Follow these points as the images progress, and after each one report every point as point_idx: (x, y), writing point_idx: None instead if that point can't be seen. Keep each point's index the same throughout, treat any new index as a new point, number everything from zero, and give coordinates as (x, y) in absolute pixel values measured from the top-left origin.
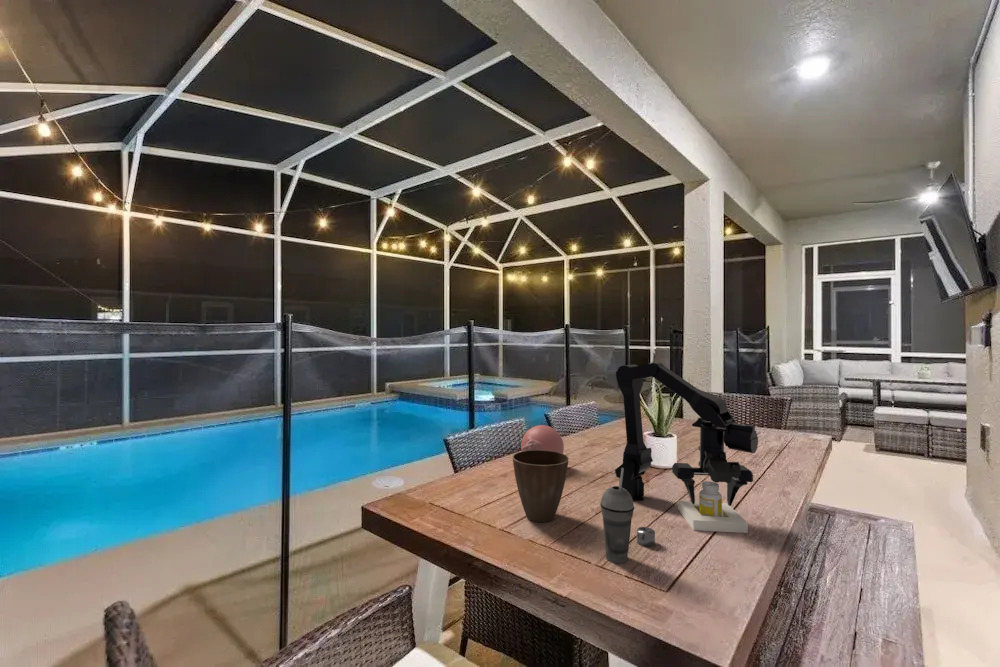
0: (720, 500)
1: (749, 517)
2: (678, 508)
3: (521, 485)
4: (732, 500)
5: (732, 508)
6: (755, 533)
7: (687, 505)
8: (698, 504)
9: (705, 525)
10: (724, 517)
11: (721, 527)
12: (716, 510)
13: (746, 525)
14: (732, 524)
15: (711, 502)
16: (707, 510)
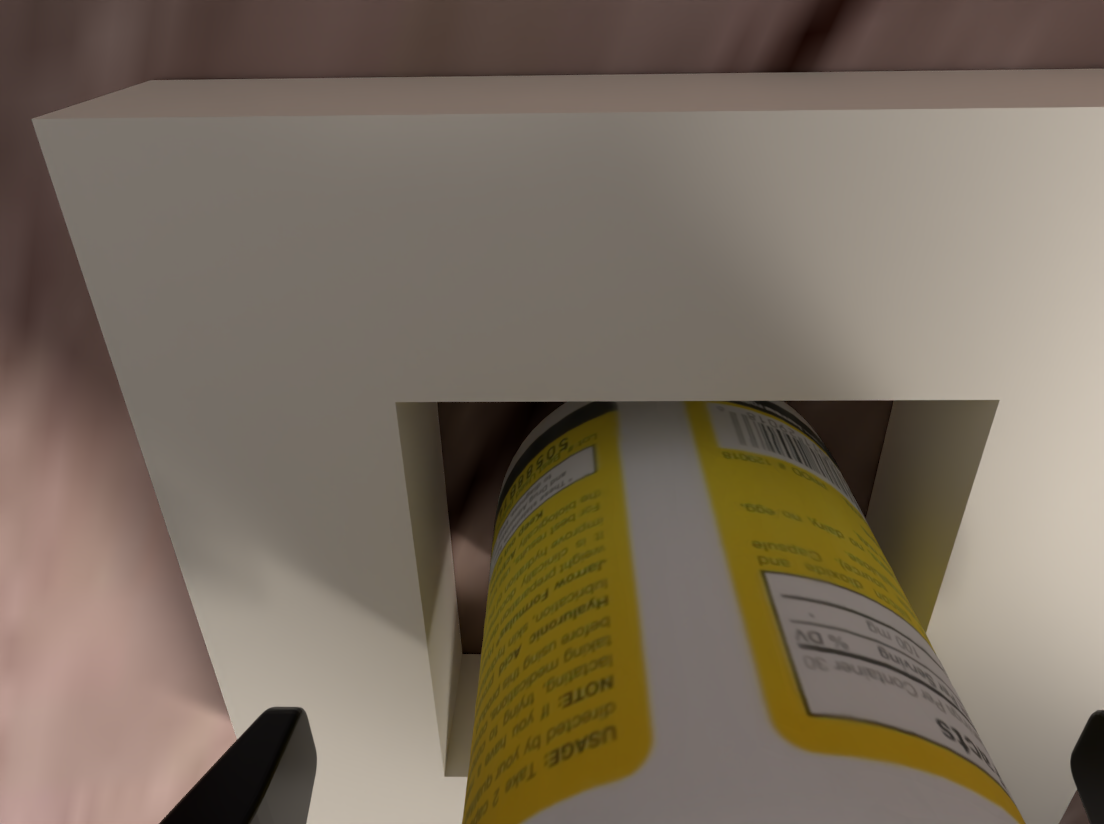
0: (545, 771)
1: (47, 655)
2: None
3: None
4: (182, 821)
5: None
6: (5, 88)
7: None
8: None
9: (1050, 84)
10: (518, 374)
11: (678, 82)
12: (663, 527)
13: (99, 102)
14: (424, 106)
15: (844, 680)
16: (850, 539)
